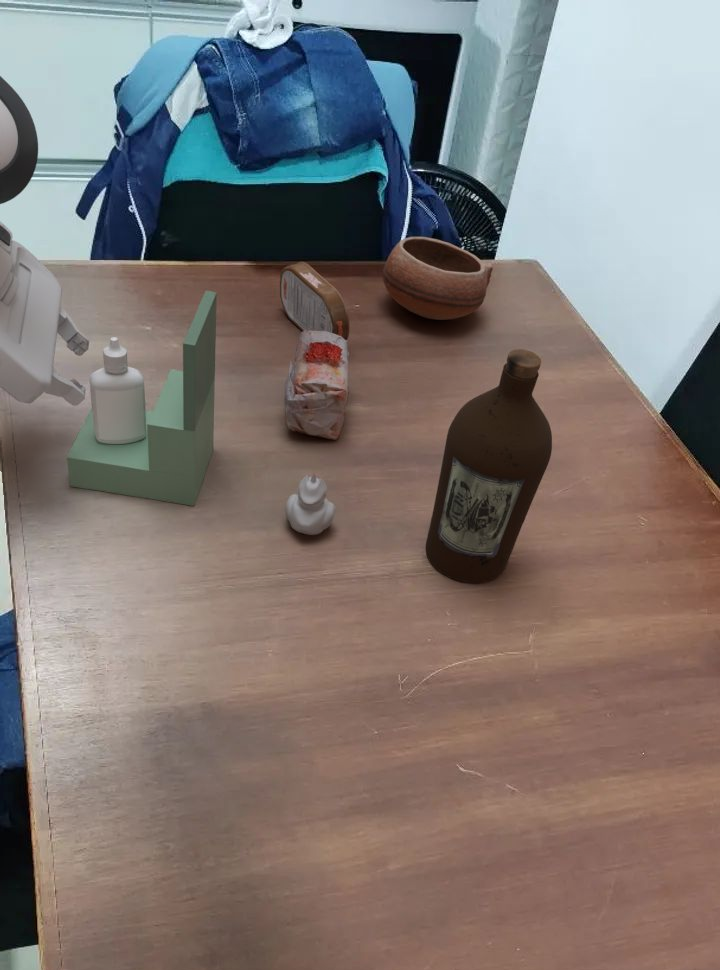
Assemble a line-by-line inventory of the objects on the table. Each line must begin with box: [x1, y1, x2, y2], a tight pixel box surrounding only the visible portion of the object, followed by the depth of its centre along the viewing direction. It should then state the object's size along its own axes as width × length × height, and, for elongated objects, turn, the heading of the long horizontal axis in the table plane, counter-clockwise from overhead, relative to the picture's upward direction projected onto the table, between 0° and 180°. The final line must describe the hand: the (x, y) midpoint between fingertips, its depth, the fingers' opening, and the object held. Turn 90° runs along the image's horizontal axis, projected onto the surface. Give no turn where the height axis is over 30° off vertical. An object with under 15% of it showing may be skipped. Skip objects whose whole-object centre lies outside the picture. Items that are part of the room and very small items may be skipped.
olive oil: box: [425, 348, 553, 584], centre depth 94 cm, size 11×11×25 cm
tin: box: [279, 261, 351, 341], centre depth 129 cm, size 15×3×8 cm, turn 34°
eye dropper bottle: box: [89, 336, 147, 444], centre depth 99 cm, size 4×6×12 cm
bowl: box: [382, 236, 494, 321], centre depth 137 cm, size 16×16×10 cm
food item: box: [284, 330, 350, 441], centre depth 115 cm, size 14×8×10 cm, turn 1°
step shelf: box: [66, 290, 218, 507], centre depth 99 cm, size 14×11×20 cm
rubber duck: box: [285, 472, 336, 536], centre depth 100 cm, size 5×7×8 cm
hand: (83, 373), depth 97 cm, fingers open, 8 cm apart
